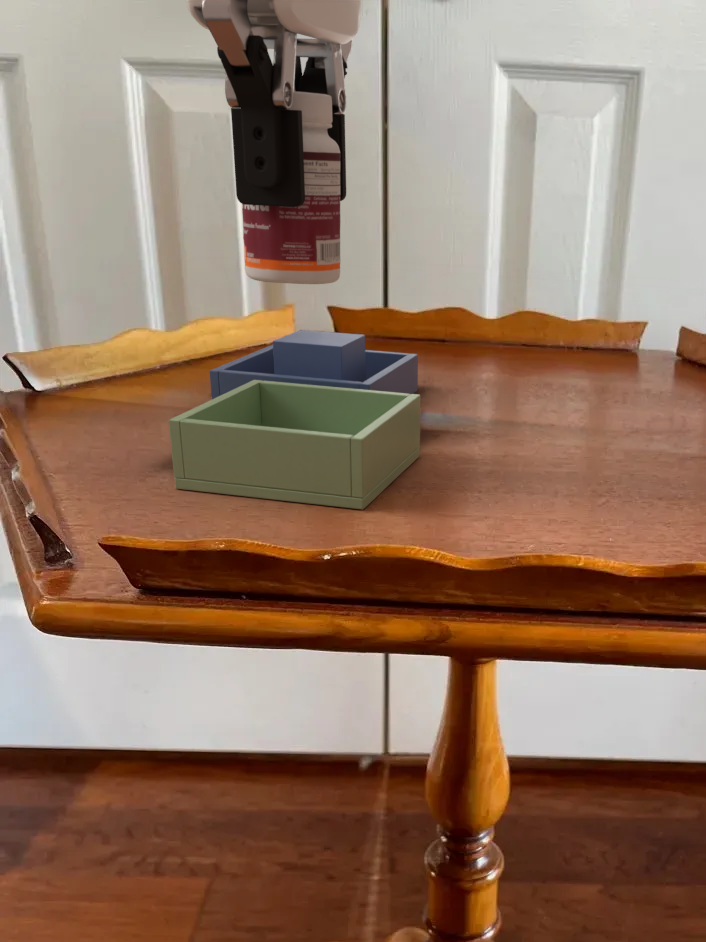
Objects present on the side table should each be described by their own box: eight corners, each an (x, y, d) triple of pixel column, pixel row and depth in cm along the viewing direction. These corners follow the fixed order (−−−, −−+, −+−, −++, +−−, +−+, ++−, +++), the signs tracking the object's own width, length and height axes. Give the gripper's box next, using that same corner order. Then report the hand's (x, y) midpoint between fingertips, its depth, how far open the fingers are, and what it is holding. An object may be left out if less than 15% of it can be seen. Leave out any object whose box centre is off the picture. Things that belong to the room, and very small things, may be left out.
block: (276, 413, 65) (272, 340, 63) (302, 398, 69) (300, 329, 67) (343, 419, 64) (341, 346, 62) (366, 404, 68) (365, 334, 66)
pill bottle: (233, 274, 53) (225, 89, 49) (322, 274, 55) (319, 97, 51) (260, 285, 49) (253, 85, 45) (354, 285, 51) (354, 94, 47)
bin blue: (213, 429, 64) (209, 370, 62) (279, 394, 72) (276, 342, 71) (370, 444, 62) (369, 384, 60) (417, 407, 71) (418, 354, 69)
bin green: (174, 489, 53) (168, 419, 51) (257, 439, 62) (253, 379, 60) (363, 510, 51) (362, 438, 49) (420, 456, 60) (420, 394, 58)
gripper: (272, -210, 50) (289, 192, 58) (74, -361, 36) (134, 207, 44) (419, -214, 49) (416, 199, 57) (277, -374, 34) (300, 216, 42)
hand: (294, 198), depth 50 cm, fingers closed on pill bottle, 4 cm apart
